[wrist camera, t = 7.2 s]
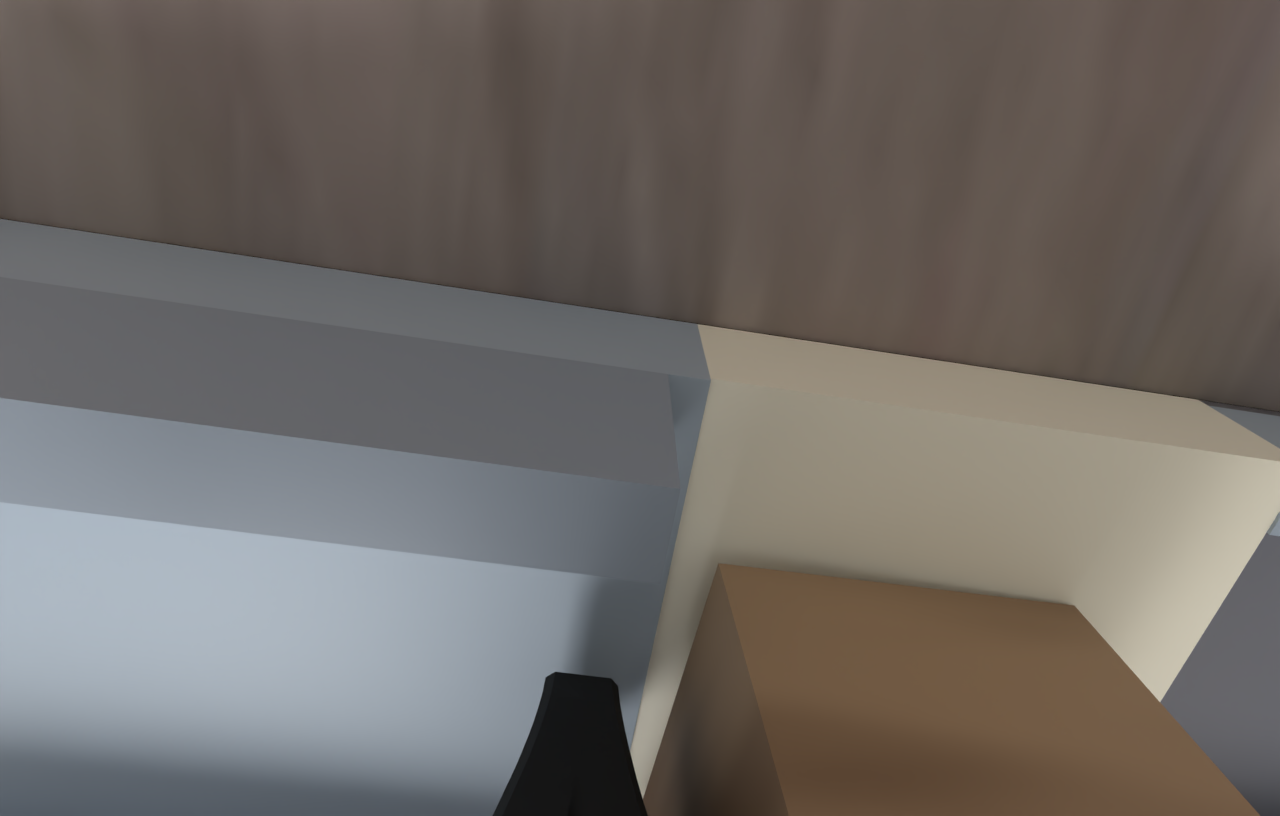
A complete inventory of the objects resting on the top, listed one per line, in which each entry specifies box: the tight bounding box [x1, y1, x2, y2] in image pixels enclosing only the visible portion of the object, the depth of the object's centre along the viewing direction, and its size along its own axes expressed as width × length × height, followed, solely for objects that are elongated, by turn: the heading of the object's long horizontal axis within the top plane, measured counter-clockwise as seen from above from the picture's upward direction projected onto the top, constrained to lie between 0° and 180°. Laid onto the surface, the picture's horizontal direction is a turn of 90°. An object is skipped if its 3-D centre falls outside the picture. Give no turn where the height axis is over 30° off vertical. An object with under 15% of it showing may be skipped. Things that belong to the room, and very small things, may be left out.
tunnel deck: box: [0, 219, 1280, 816], centre depth 10 cm, size 10×34×4 cm, turn 81°
